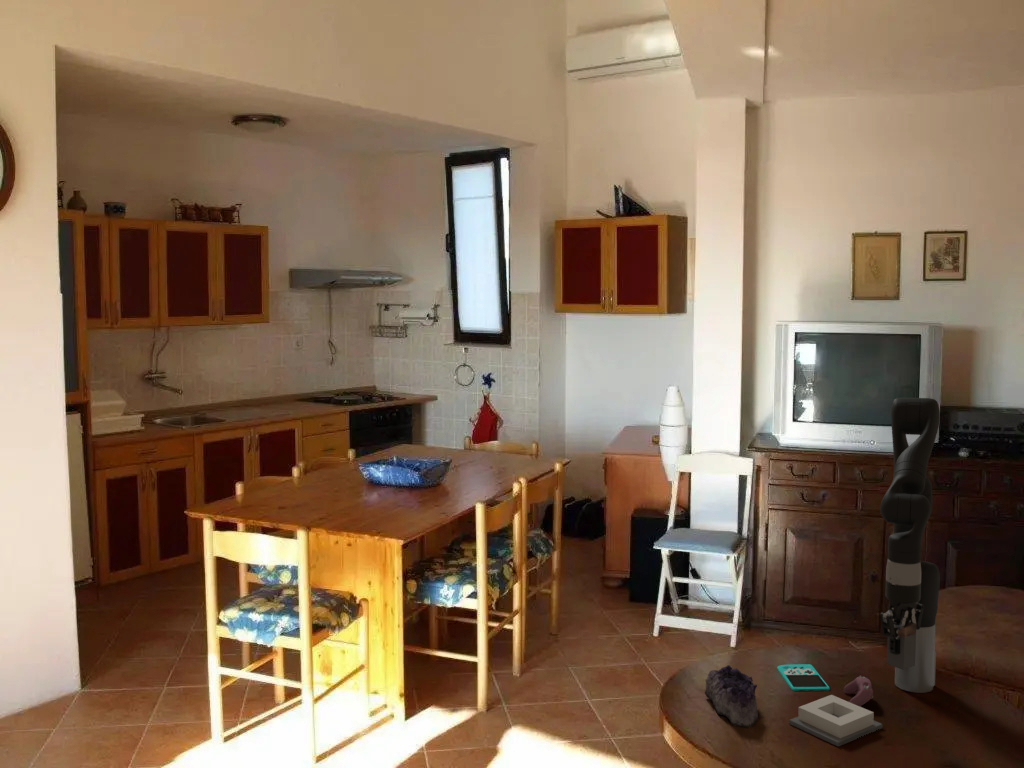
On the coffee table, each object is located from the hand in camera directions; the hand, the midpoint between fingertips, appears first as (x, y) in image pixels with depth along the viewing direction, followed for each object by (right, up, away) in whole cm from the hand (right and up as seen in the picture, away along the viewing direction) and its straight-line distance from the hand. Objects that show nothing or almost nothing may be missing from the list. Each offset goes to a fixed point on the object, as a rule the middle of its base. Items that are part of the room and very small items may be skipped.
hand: (901, 650), depth 226 cm
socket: (-14, -19, +5) cm, 24 cm away
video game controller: (-3, -18, +19) cm, 26 cm away
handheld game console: (-13, -17, +33) cm, 39 cm away
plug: (0, -3, 0) cm, 3 cm away
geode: (-35, -19, +15) cm, 42 cm away
